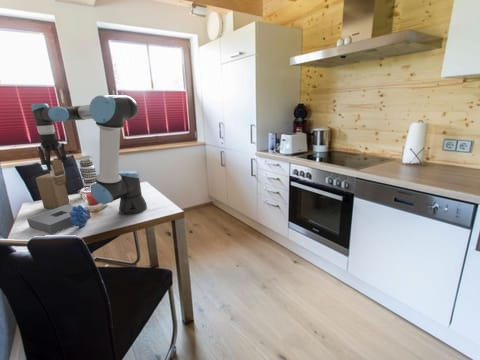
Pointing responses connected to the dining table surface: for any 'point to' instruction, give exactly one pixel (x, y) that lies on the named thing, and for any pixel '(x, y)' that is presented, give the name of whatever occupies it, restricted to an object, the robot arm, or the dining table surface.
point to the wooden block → (51, 192)
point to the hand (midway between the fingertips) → (58, 174)
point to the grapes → (78, 216)
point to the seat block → (53, 219)
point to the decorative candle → (87, 172)
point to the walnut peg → (58, 172)
